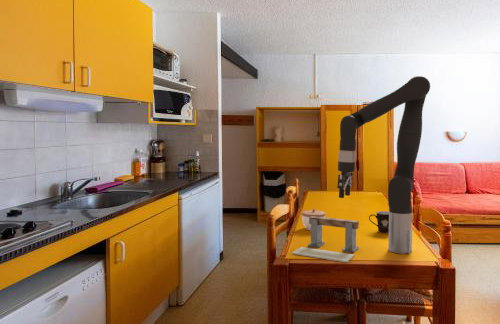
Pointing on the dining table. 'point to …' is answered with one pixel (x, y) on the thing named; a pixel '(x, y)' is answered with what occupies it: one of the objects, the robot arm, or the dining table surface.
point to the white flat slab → (323, 254)
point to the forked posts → (317, 242)
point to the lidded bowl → (308, 214)
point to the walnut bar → (334, 222)
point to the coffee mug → (382, 221)
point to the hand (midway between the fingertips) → (344, 196)
